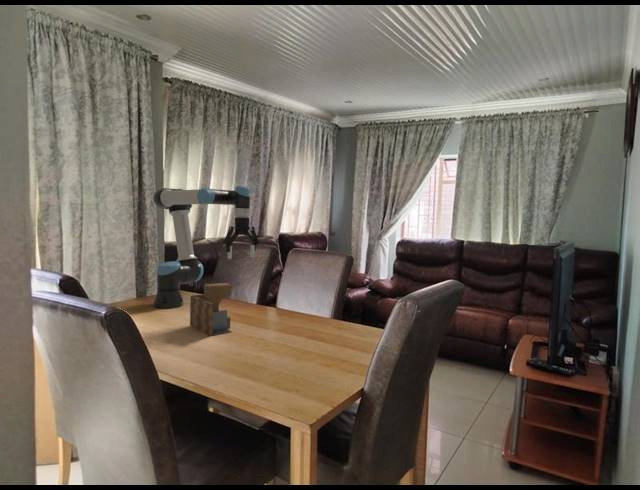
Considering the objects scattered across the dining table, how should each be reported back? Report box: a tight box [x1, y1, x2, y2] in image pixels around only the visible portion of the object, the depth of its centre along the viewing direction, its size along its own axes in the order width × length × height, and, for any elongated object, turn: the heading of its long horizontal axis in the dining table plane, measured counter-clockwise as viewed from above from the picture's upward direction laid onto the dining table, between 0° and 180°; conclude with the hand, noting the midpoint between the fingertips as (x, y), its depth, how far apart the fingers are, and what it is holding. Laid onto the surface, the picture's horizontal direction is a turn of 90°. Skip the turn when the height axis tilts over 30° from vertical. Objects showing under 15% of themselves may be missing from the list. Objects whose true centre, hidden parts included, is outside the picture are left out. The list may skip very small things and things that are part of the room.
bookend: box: [212, 309, 232, 337], centre depth 180 cm, size 5×9×9 cm, turn 133°
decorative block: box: [203, 282, 232, 329], centre depth 187 cm, size 11×6×20 cm, turn 119°
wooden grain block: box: [189, 293, 214, 337], centre depth 185 cm, size 18×10×14 cm, turn 43°
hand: (241, 258), depth 214 cm, fingers open, 13 cm apart
